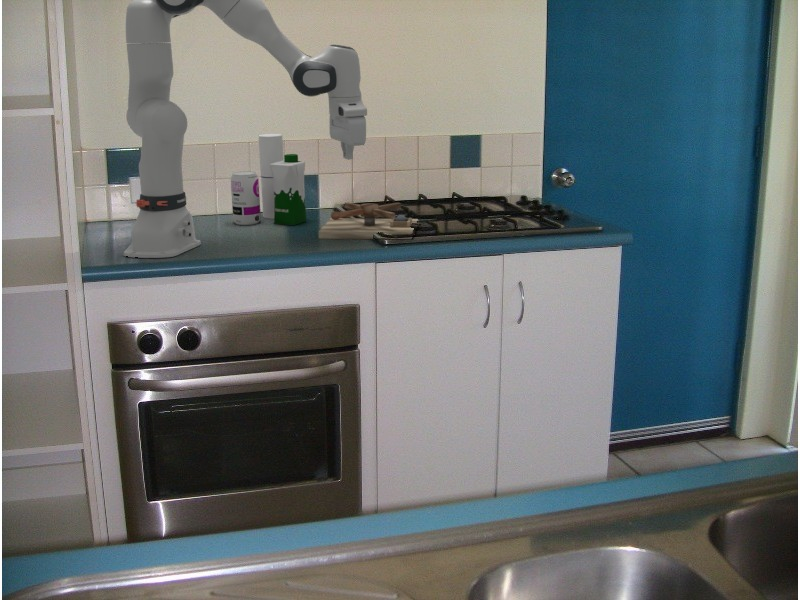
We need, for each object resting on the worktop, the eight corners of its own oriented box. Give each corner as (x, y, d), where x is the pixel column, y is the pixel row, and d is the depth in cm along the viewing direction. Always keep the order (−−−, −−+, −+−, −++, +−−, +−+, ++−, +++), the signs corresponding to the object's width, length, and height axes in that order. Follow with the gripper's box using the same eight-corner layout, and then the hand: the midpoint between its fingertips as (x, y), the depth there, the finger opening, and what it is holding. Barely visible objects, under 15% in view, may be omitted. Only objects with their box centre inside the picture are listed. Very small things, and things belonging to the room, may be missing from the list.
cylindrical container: (266, 219, 281) (262, 137, 274) (260, 215, 287) (255, 134, 280) (289, 217, 283) (285, 135, 276) (282, 213, 290) (278, 133, 283)
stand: (412, 239, 252) (411, 223, 250) (318, 238, 254) (318, 222, 253) (418, 225, 269) (418, 210, 267) (330, 224, 272) (330, 209, 270)
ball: (405, 226, 258) (405, 216, 258) (395, 226, 259) (395, 216, 258) (406, 224, 261) (406, 214, 260) (396, 224, 262) (396, 213, 261)
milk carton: (310, 220, 278) (307, 154, 272) (293, 226, 270) (290, 158, 264) (286, 218, 282) (283, 153, 276) (269, 224, 274) (265, 157, 268)
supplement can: (263, 220, 280) (260, 171, 276) (257, 225, 272) (254, 175, 268) (237, 219, 281) (234, 171, 276) (230, 225, 273) (226, 175, 269)
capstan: (424, 215, 258) (424, 204, 258) (355, 227, 244) (355, 215, 243) (377, 205, 275) (376, 194, 274) (310, 215, 261) (309, 204, 260)
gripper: (322, 105, 254) (325, 155, 258) (346, 111, 236) (349, 164, 240) (344, 103, 256) (346, 153, 260) (369, 109, 238) (371, 162, 242)
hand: (348, 158), depth 250 cm, fingers closed
